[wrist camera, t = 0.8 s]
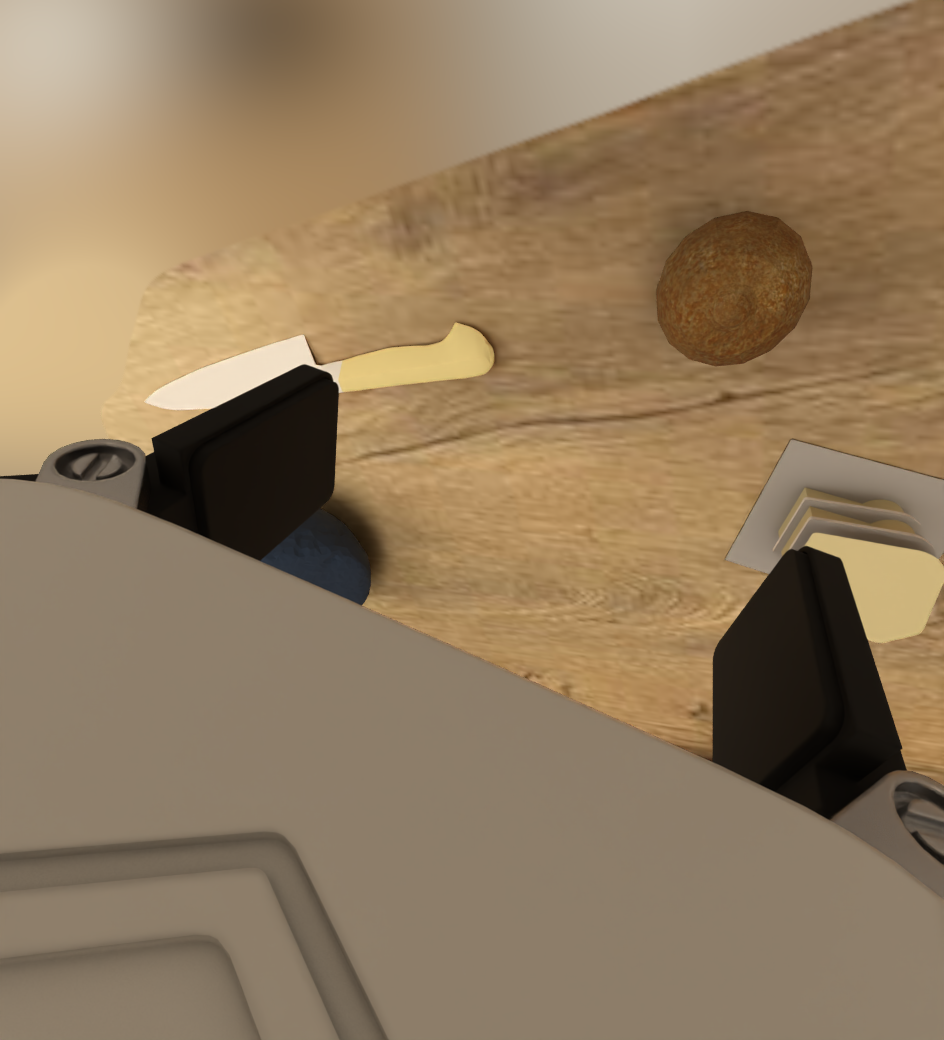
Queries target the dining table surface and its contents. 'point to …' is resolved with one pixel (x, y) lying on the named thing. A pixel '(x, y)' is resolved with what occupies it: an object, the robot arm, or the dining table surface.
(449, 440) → the dining table surface
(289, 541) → the decorative stone
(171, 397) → the knife
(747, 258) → the fruit
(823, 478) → the stacked layers on plate
